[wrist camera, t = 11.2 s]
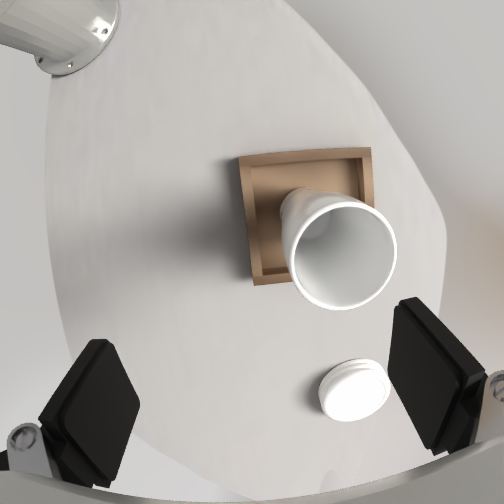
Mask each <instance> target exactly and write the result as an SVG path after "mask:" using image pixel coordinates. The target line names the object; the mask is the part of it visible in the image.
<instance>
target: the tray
mask: <svg viewBox="0 0 504 504" xmlns="http://www.w3.org/2000/svg"><path fill="white" fill-rule="evenodd" d="M238 161H239V169H240V177H241V185H242V193H243V202H244V210H245V218H246V226H247V234H248V242H249V250H250V259H251V267H252V275H253V283H254V286H257V285H266V284H275V283H284V282H293V281H292V278H291V276H290V274H289V271H288V269H287V266H286V263H285V259H284V255H283V251H282V243H281V220H280V207H281V204H282V202H283V200H284V198H285V197H286V196H287V195H288V194H289V193H290V192H292V191H294V190H296V189H298V188H303V187H309V188H314V189H317V190H323V191H332V192H338V193H342V194H346V195H349V196H351V197H354V198H356V199H358V200H360V201H362V202H364V203H365V204H367V205H369V206H370V207H372V208H374V188H373V171H372V157H371V147H362V148H335V149H317V150H303V151H290V152H279V153H268V154H259V155H249V156H241V157H238Z"/></svg>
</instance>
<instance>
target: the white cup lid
mask: <svg viewBox="0 0 504 504" xmlns="http://www.w3.org/2000/svg"><path fill="white" fill-rule="evenodd" d="M389 393H390V382H389V379H388V377H387V375H386V373H385V372H384V370H383V368H382V366H381V365H380V364H378V363H377V362H375V361H373V360H370V359H355V360H350V361H347V362H344V363H342V364H340V365H338V366H337V367H335V368H333V369H332V370H331V371H330V372H329V373H328V374H327V375H326V376H325V377H324V378H323V380H322V381H321V383H320V386H319V391H318V394H319V399H320V403H321V407H322V410H323V412H324V413H325V414H326V415H327V416H328V417H329V418H331V419H333V420H336V421H343V422H348V421H355V420H359V419H362V418H364V417H366V416H368V415H370V414H372V413H373V412H375V411H376V410H377V409H379V408H380V407H381V406H382V405H383V403H384V402H385V401H386V399H387V398H388V395H389Z"/></svg>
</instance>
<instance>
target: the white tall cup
mask: <svg viewBox="0 0 504 504" xmlns="http://www.w3.org/2000/svg"><path fill="white" fill-rule="evenodd" d="M280 220H281V243H282V251H283V255H284V259H285V263H286V266H287V269H288V271H289V274H290V276H291V278H292V281H293V283H294V285H295V287H296V288H297V290H298V291H299V292H300V294H301V295H302V296H303V297H304V298H305V299H307V300H308V301H309V302H311V303H312V304H314V305H316V306H318V307H321V308H324V309H328V310H347V309H352V308H355V307H358V306H361V305H363V304H365V303H366V302H368V301H370V300H371V299H373V298H374V297H375V296H376V295H377V294H378V293H379V292H380V291H381V290H382V289H383V288H384V287H385V285H386V284H387V282H388V281H389V279H390V277H391V275H392V273H393V270H394V267H395V263H396V256H397V246H396V240H395V236H394V233H393V230H392V228H391V226H390V225H389V223H388V222H387V220H386V219H385V218H384V217H383V216H382V215H381V214H380V213H379V212H378V211H377V210H375V209H374V208H372V207H370V206H369V205H367V204H365V203H364V202H362V201H360V200H358V199H356V198H354V197H351V196H349V195H346V194H342V193H338V192H332V191H323V190H317V189H314V188H309V187H303V188H298V189H296V190H294V191H292V192H290V193H289V194H288V195H287V196H286V197H285V198H284V200H283V202H282V204H281V207H280Z"/></svg>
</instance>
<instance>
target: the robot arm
mask: <svg viewBox="0 0 504 504" xmlns="http://www.w3.org/2000/svg"><path fill="white" fill-rule="evenodd" d="M119 14H120V9H119V4H118V1H117V0H0V44H2V45H6V46H9V47H12V48H15V49H19V50H21V51H25V52H27V53H30V54H33V55H34V56H35V61H36V63H37V65H38V66H39V67H40V68H41V69H42V70H43V71H45V72H47V73H49V74H53V75H65V74H69V73H72V72H75V71H77V70H79V69H81V68H82V67H84V66H86V65H87V64H88V63H90V62H91V61H92V60H93V59H94V58H95V57H96V56H98V55H99V54H100V52H101V51H102V50H103V49H104V48H105V47H106V45H107V44H108V42H109V41H110V39H111V38H112V36H113V34H114V32H115V30H116V27H117V24H118V21H119ZM388 376H389V379H390V380H391V382H392V384H393V386H394V388H395V390H396V392H397V394H398V396H399V397H400V399H401V401H402V403H403V405H404V407H405V409H406V411H407V413H408V415H409V416H410V418H411V420H412V423H413V424H414V426H415V428H416V430H417V432H418V434H419V436H420V439H421V440H422V442H423V444H424V446H425V448H426V449H431V451H432V453H433V455H434V456H435V455H438V454H440V453H442V452H445V451H448V453H449V455H447V456H445V457H442V458H440V459H438V460H435V461H432V462H430V463H427V464H425V465H422V466H419V467H416V468H414V469H411V470H408V471H405V472H402V473H399V474H396V475H393V476H389V477H386V478H383V479H379V480H376V481H373V482H369V483H365V484H361V485H357V486H353V487H349V488H345V489H340V490H336V491H330V492H325V493H320V494H314V495H307V496H301V497H294V498H286V499H277V500H266V501H252V502H226V503H225V502H223V503H220V502H219V503H218V502H215V503H212V502H209V503H208V502H185V501H170V500H158V499H150V498H142V497H135V496H129V495H123V494H117V493H112V492H107V491H102V490H97V489H92V486H93V484H95V485H96V486H101V487H105V488H109V487H110V484H111V481H114V480H115V478H116V476H117V473H118V469H119V467H120V464H121V460H122V458H123V455H124V452H125V449H126V445H127V443H128V440H129V437H130V434H131V431H132V428H133V425H134V422H135V420H136V417H137V414H138V411H139V408H140V401H139V398H138V396H137V394H136V392H135V390H134V388H133V386H132V384H131V382H130V380H129V378H128V376H127V373H126V371H125V369H124V367H123V365H122V363H121V360H120V358H119V356H118V354H117V351H116V349H115V347H114V345H113V344H112V343H110V342H109V341H108V340H107V339H92V340H90V341H89V343H88V344H87V345H86V347H85V348H84V350H83V351H82V352H81V354H80V355H79V357H78V358H77V360H76V361H75V363H74V364H73V365H72V367H71V368H70V370H69V371H68V373H67V374H66V376H65V377H64V379H63V380H62V382H61V383H60V385H59V386H58V388H57V389H56V391H55V392H54V394H53V395H52V397H51V398H50V400H49V402H48V403H47V405H46V406H45V408H44V409H43V411H42V413H41V414H40V416H39V418H38V420H39V421H40V422H41V424H42V426H41V428H39V427H38V426H37V425H36V424H33V423H24V424H21V425H19V426H17V427H16V428H15V429H13V430H12V432H11V433H10V435H9V436H8V439H7V450H5V451H3V452H0V504H504V370H501V371H497V372H494V373H493V374H491V375H490V376H489V377H488V376H487V374H486V373H485V369H484V368H483V367H482V365H481V364H480V363H479V362H478V361H477V360H476V359H475V357H473V356H472V354H471V353H470V352H469V351H468V350H467V349H466V347H464V345H463V344H462V343H461V342H460V341H459V340H458V339H457V338H456V337H455V336H454V334H453V333H452V332H450V330H449V329H448V328H447V327H446V326H445V325H444V324H443V323H442V322H441V321H440V320H439V319H438V318H437V317H436V316H435V315H434V314H433V313H432V312H431V311H430V310H429V308H428V307H427V306H426V305H425V304H424V303H423V302H422V301H421V300H420V299H419V298H417V297H413V298H409V299H404V300H401V301H400V302H399V305H398V306H395V308H394V318H393V328H392V338H391V346H390V354H389V362H388Z"/></svg>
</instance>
